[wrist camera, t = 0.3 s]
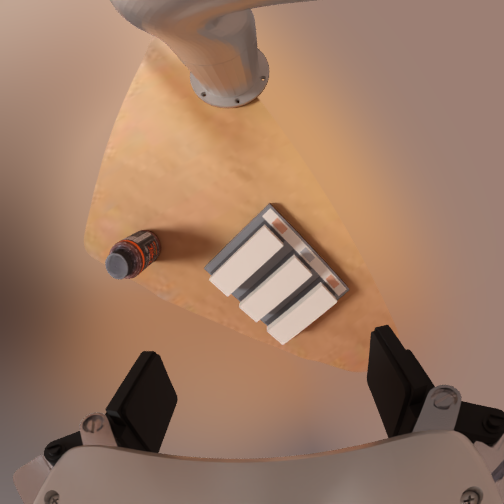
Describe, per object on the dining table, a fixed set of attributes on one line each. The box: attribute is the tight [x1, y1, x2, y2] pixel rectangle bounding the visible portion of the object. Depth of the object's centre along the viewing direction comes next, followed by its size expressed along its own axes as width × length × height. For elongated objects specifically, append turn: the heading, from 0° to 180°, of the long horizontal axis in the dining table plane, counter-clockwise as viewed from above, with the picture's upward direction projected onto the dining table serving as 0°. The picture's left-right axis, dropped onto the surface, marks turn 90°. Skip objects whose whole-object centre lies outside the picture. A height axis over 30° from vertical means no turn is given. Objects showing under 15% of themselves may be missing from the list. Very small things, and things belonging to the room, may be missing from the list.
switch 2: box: [267, 282, 337, 345], centre depth 44 cm, size 4×12×2 cm, turn 135°
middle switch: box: [239, 255, 312, 322], centre depth 43 cm, size 4×12×2 cm, turn 135°
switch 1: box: [209, 224, 284, 297], centre depth 42 cm, size 4×12×2 cm, turn 135°
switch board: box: [204, 203, 349, 326], centre depth 46 cm, size 20×15×2 cm
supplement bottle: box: [105, 230, 161, 279], centre depth 41 cm, size 6×6×11 cm
